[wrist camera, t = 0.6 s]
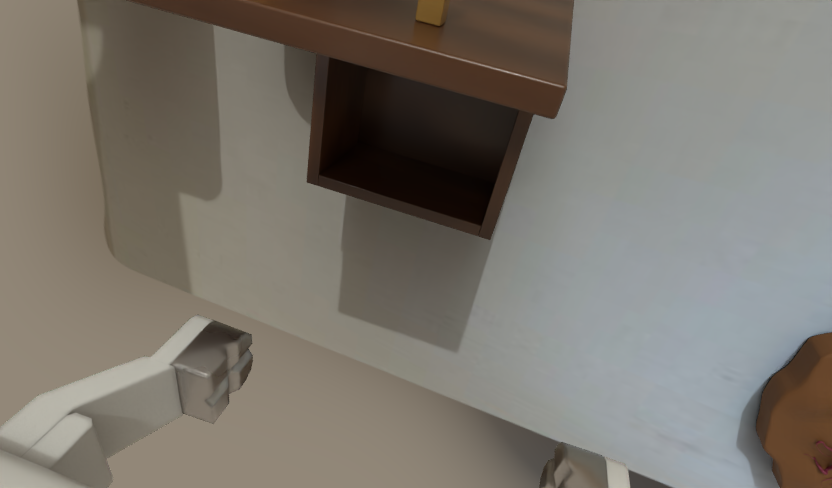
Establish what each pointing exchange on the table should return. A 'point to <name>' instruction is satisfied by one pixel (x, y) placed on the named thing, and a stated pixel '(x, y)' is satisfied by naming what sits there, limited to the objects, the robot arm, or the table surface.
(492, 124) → the box
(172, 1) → the lid
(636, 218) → the table surface
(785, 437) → the plant
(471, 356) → the table surface
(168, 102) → the table surface
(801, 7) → the table surface
